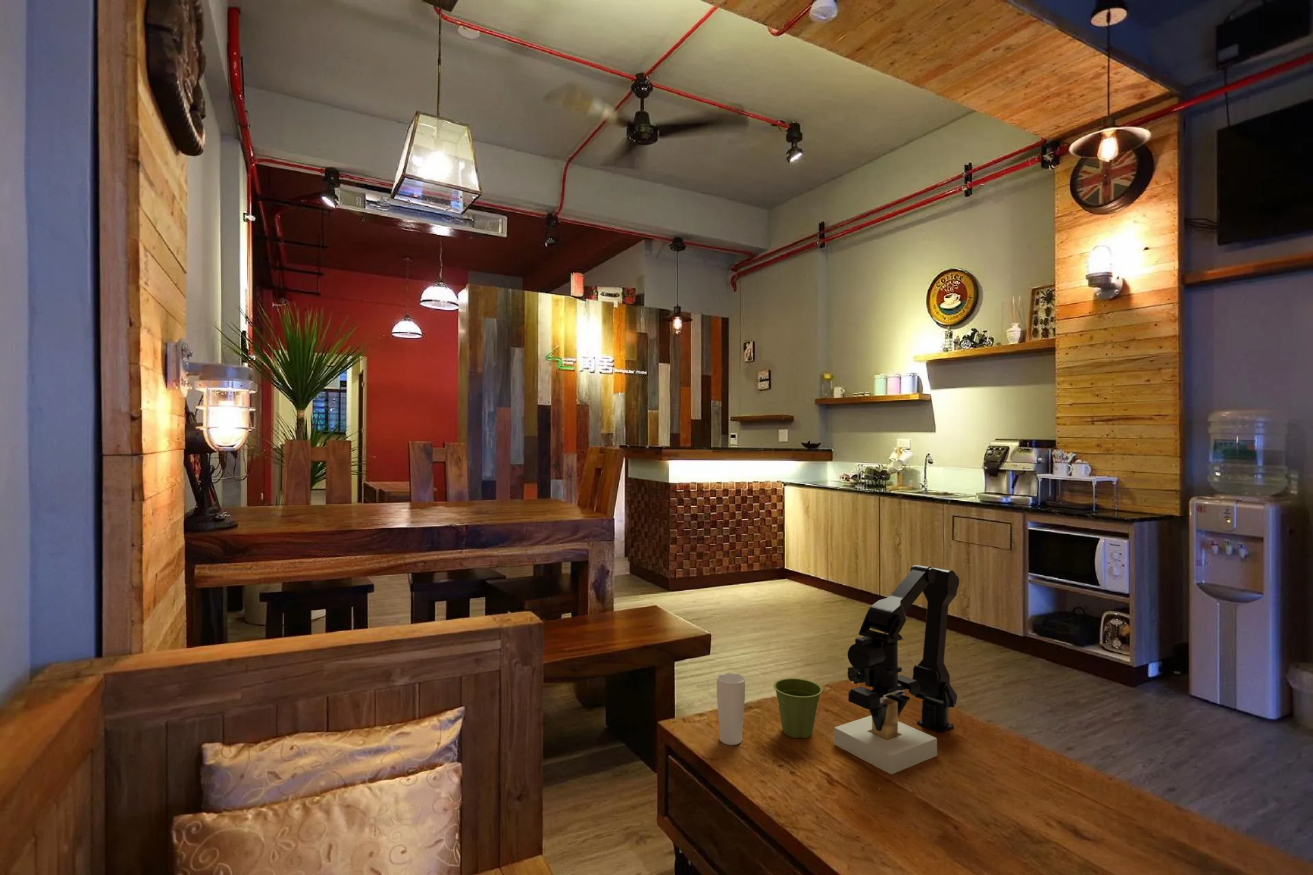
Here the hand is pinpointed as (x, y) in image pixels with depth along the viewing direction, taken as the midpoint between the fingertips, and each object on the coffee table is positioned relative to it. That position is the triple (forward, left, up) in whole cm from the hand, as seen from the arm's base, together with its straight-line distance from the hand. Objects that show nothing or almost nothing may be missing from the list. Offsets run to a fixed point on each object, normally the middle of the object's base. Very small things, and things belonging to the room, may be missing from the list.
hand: (884, 728), depth 146 cm
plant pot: (+11, -17, -5) cm, 21 cm away
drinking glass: (+28, -22, -5) cm, 36 cm away
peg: (0, 0, -2) cm, 2 cm away
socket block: (0, 0, -5) cm, 5 cm away
